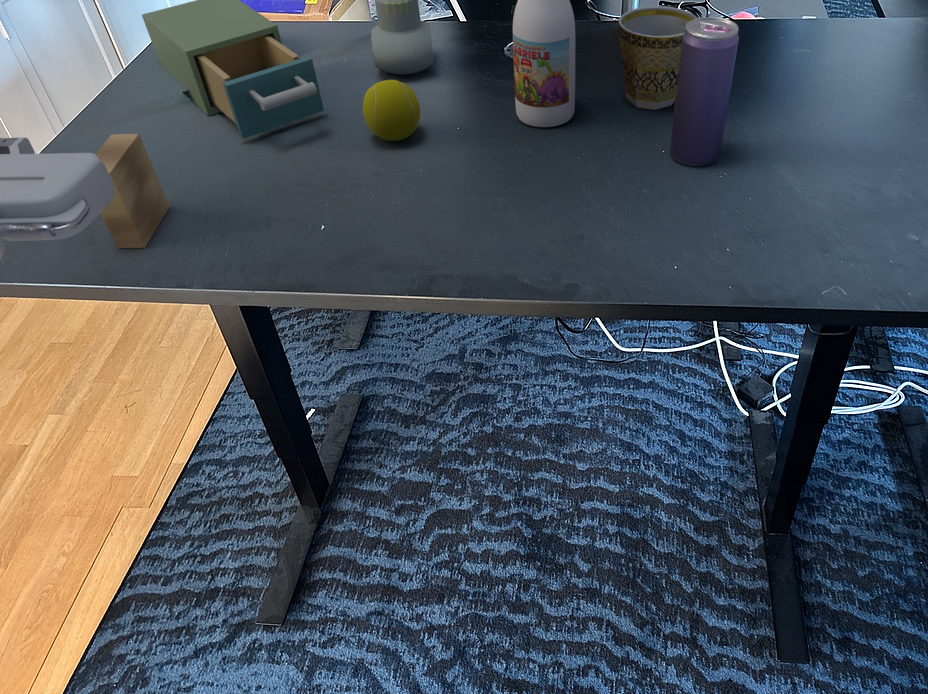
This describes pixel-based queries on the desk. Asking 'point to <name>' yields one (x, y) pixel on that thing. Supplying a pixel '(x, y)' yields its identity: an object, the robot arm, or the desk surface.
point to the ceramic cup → (652, 54)
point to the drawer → (260, 84)
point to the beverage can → (703, 89)
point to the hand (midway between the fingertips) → (14, 145)
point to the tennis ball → (391, 110)
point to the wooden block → (132, 192)
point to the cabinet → (202, 38)
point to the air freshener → (401, 38)
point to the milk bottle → (544, 62)
